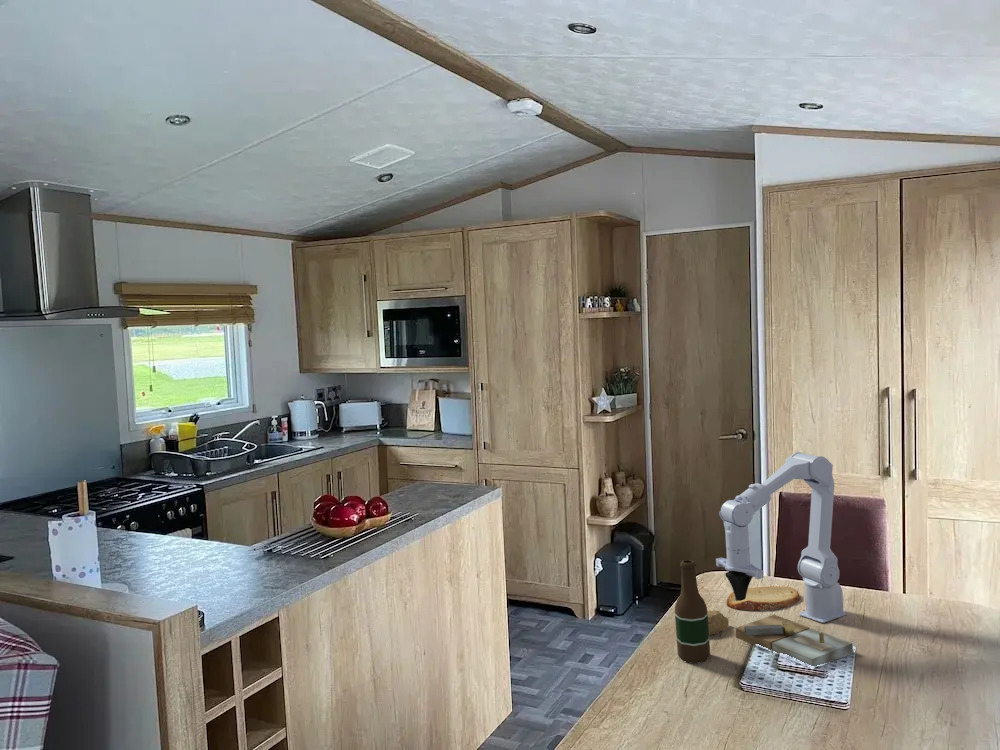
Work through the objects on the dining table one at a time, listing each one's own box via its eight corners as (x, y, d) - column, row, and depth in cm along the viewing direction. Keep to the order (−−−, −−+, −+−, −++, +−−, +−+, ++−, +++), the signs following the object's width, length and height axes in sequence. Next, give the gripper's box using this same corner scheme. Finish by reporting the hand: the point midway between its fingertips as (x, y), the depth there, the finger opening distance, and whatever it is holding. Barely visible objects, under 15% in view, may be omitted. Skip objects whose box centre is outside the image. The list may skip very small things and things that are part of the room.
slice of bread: (803, 595, 233) (802, 583, 233) (788, 617, 218) (787, 604, 218) (741, 588, 243) (740, 576, 243) (722, 609, 228) (722, 596, 228)
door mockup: (774, 623, 214) (773, 606, 214) (852, 653, 193) (851, 633, 193) (735, 637, 207) (734, 619, 207) (812, 669, 186) (811, 649, 186)
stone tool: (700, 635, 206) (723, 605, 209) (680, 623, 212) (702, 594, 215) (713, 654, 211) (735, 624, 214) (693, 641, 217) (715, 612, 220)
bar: (792, 631, 202) (792, 621, 202) (795, 635, 199) (795, 625, 199) (744, 633, 203) (743, 623, 203) (746, 637, 201) (746, 627, 200)
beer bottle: (711, 664, 193) (704, 566, 192) (678, 663, 195) (671, 566, 193) (709, 650, 201) (703, 556, 199) (677, 650, 203) (671, 556, 201)
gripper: (706, 544, 211) (709, 595, 212) (747, 557, 199) (750, 611, 200) (726, 539, 215) (729, 589, 216) (768, 551, 202) (771, 604, 203)
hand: (740, 599), depth 208 cm, fingers closed
